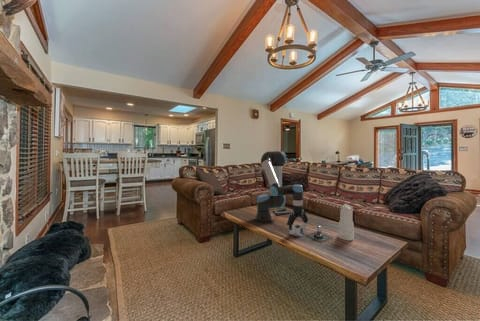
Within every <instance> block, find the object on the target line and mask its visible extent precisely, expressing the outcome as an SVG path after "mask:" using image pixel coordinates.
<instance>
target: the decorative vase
mask: <svg viewBox="0 0 480 321" xmlns="http://www.w3.org/2000/svg"><path fill="white" fill-rule="evenodd" d="M339 212H340V214H339V215H340V216H339V221H338V231H337V233H338V234H337V235H338V238H339V239H341V240H344V241H354V240H355V232H354V230H355V228H354V226H355V225H354V224H355V223H354V221H353V220H354V219H353V218H354V217H353V206H352V205H349V204H348V203H344V204H343V205H342V207H341V208H340V211H339Z"/></svg>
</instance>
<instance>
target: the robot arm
mask: <svg viewBox="0 0 480 321" xmlns="http://www.w3.org/2000/svg"><path fill="white" fill-rule="evenodd" d="M260 164H261V167H262V168H264V169H263V170H264V172H265V174H266V175H265V176H266V177H267V180H268V182H269V189H268V192H269V194H266V193H265V194H259V195H258V196H257V198H256V204H257V206H256V207H257V208H256V209H257V210H256V211H257V212H256V213H255V214H256V216H255V221H256V222H259V223H269V222H272V219H273V218H272V216H271V215H272V214H271V212H270V210H271V209H279V208H280V209H281V208H283V207H285V205H286V202H287V201H286V196H292V211H293V212H292V211H290V212H289V217H288V219H287V222H286V225H287V226H288V229H289V234H290V235H292V236H294V235H293V226H292V225H294V223H295V221H296V219H298V218H300V219H301V220H302V221H301V222H302V224H301V226H303V232H305V231H307V230H306V228H307V223H308V221H309V219H308V216H307V214H306V213H307V212H306V210H305V209H304V206H303V205H304V200H303V198H304V189H303V185H302V184H293V185H292V184H288V185H283V168H284V167H285V164H287V155H286V153H285V152H284V151H279V150H277V151H275V150H274V151H270V150H269V151H266V152H264V153H263V154H262V156H261V159H260Z"/></svg>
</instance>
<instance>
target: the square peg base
mask: <svg viewBox="0 0 480 321" xmlns="http://www.w3.org/2000/svg"><path fill="white" fill-rule="evenodd" d="M304 236H306V237H308V238H310V239H312V240H315V241H316V242H319V244H323V243H326V242H330V241H333V239H334V237H333V236H331V235H328V234H325V233H323V232H322V226H321V225H317V226H316V231H314V232H310V233H308V234H307V233H306V234H305V235H304ZM329 240H330V241H329Z"/></svg>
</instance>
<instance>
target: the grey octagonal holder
mask: <svg viewBox="0 0 480 321" xmlns="http://www.w3.org/2000/svg"><path fill="white" fill-rule="evenodd" d="M296 225H297V224H293V225H292V226H293V235H292V236H295V237H303V236H304V230H303V226H302V224H298V225H299V228H297V227H296Z"/></svg>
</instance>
